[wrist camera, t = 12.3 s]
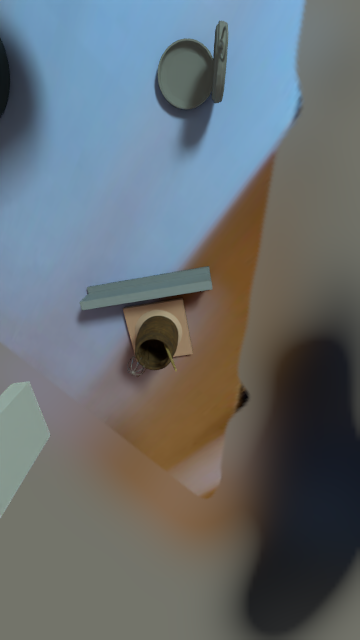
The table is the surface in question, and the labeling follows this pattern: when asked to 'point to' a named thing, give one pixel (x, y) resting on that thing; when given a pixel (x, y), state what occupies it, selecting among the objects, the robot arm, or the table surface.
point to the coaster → (163, 308)
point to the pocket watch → (194, 71)
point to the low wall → (147, 288)
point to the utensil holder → (156, 343)
